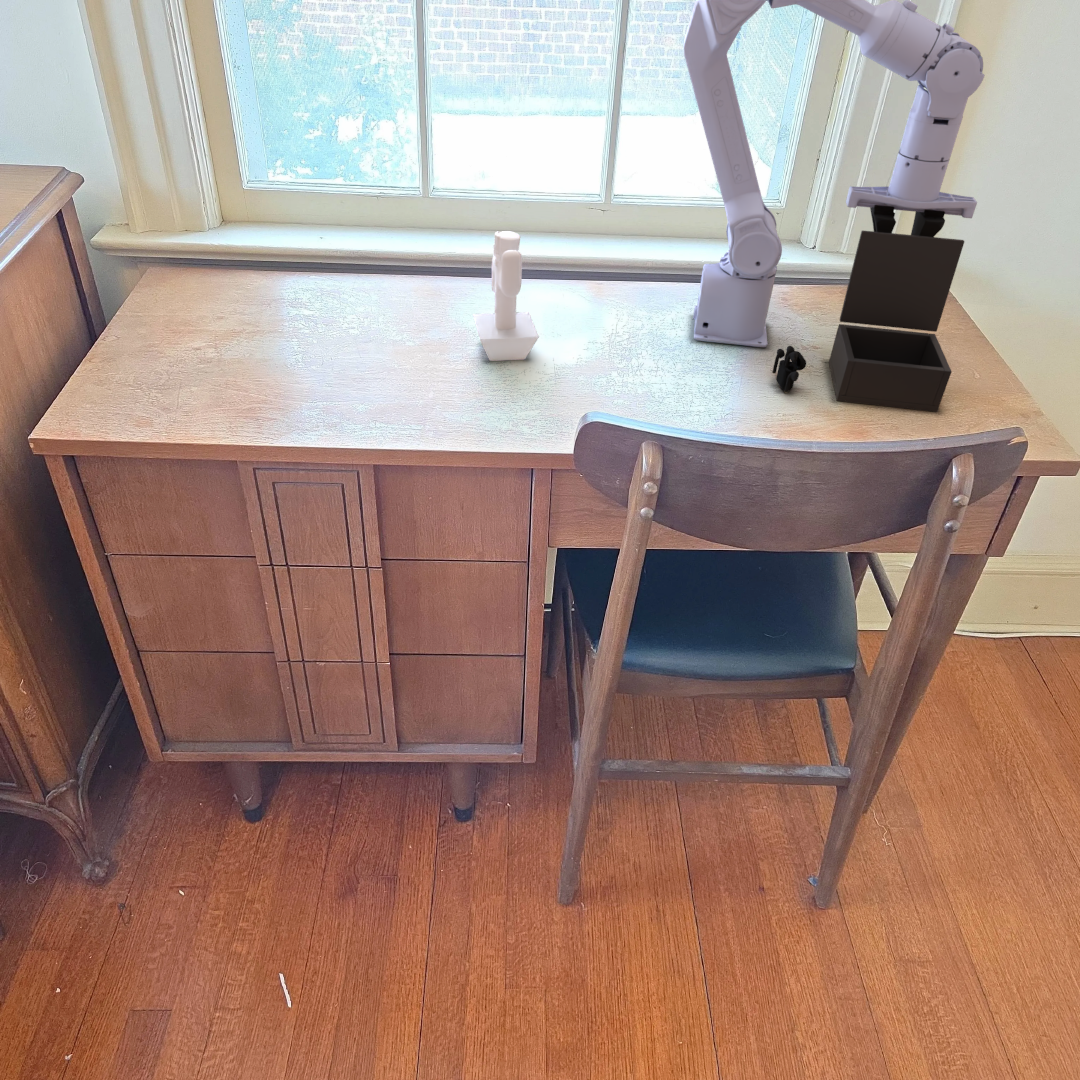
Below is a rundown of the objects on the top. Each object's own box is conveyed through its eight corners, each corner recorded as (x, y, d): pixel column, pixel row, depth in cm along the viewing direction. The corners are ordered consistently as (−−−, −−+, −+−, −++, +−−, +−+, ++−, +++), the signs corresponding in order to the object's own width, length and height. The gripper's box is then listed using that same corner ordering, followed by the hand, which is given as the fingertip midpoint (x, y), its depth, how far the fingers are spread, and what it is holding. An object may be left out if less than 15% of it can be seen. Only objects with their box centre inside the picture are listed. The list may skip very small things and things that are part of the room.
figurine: (526, 334, 117) (530, 219, 107) (539, 368, 109) (545, 247, 100) (471, 337, 115) (470, 220, 106) (480, 371, 108) (481, 249, 99)
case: (937, 412, 105) (951, 371, 102) (836, 401, 106) (848, 360, 103) (922, 372, 113) (935, 333, 110) (828, 362, 114) (838, 323, 111)
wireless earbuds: (768, 373, 111) (777, 336, 108) (788, 373, 111) (797, 336, 108) (785, 401, 105) (795, 363, 102) (806, 401, 106) (816, 363, 103)
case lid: (964, 241, 103) (963, 239, 104) (862, 231, 104) (861, 230, 105) (936, 331, 109) (935, 330, 110) (839, 321, 110) (839, 320, 111)
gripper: (980, 151, 106) (944, 263, 114) (856, 140, 107) (828, 252, 116) (995, 168, 101) (955, 284, 109) (863, 156, 102) (834, 272, 110)
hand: (890, 269), depth 112 cm, fingers open, 3 cm apart
